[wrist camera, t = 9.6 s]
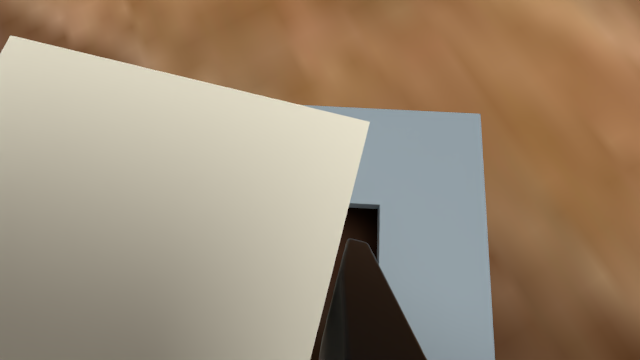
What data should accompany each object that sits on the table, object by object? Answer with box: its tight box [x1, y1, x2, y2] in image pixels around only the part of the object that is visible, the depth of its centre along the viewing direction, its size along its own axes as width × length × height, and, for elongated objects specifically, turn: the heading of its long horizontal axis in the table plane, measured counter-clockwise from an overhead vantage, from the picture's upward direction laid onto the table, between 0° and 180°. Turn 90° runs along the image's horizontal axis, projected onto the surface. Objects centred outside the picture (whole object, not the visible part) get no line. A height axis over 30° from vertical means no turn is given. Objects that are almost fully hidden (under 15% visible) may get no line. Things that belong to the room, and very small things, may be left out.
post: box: [0, 35, 370, 360], centre depth 10 cm, size 4×4×12 cm
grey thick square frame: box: [302, 105, 495, 360], centre depth 16 cm, size 14×14×5 cm
